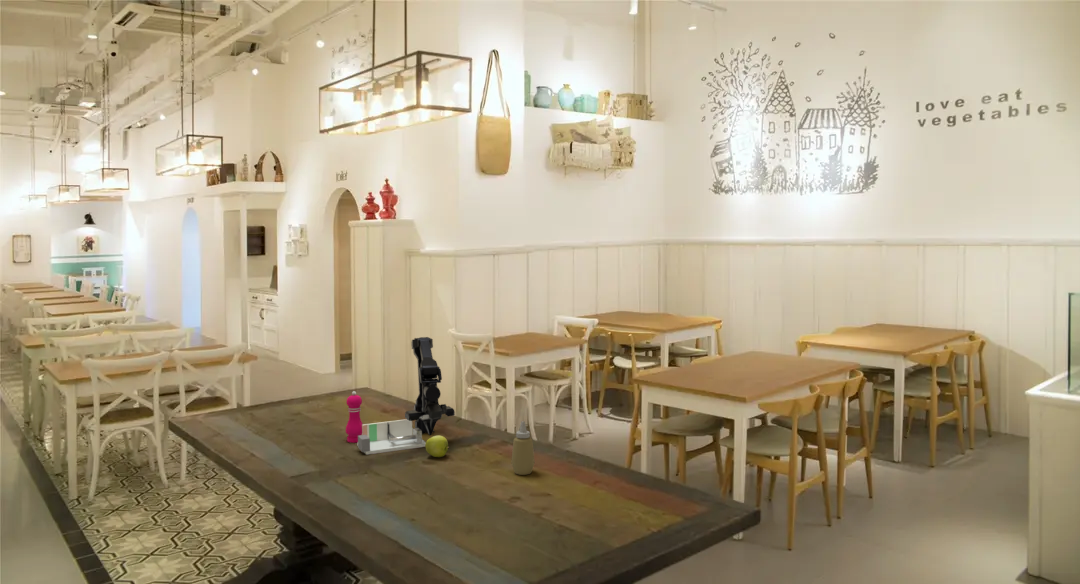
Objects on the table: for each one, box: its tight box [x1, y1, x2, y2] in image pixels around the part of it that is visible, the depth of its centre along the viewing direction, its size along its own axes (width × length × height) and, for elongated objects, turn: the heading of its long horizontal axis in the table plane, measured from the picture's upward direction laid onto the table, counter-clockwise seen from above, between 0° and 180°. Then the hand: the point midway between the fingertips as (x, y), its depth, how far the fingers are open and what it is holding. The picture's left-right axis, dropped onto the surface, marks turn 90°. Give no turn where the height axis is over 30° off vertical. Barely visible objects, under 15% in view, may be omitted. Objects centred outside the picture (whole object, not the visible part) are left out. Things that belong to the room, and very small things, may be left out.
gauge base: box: [356, 418, 426, 456], centre depth 300 cm, size 26×13×8 cm, turn 117°
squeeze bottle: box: [511, 421, 536, 476], centre depth 267 cm, size 8×8×18 cm
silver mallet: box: [387, 424, 423, 444], centre depth 302 cm, size 12×11×6 cm
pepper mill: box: [345, 390, 364, 444], centre depth 308 cm, size 7×7×20 cm
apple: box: [424, 435, 450, 458], centre depth 286 cm, size 8×9×8 cm
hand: (430, 434), depth 304 cm, fingers closed
